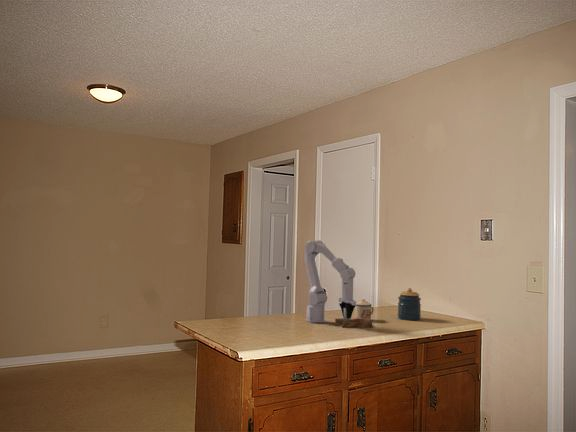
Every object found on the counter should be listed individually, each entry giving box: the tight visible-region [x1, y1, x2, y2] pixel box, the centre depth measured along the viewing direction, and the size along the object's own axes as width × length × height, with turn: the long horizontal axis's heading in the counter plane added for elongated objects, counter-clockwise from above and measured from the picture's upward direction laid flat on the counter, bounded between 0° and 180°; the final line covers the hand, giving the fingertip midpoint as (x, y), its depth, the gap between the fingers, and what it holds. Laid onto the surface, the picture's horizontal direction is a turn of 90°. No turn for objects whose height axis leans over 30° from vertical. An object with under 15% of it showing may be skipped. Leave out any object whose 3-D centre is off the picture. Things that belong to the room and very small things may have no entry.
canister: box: [397, 287, 422, 321], centre depth 282 cm, size 13×13×18 cm
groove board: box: [334, 317, 373, 329], centre depth 256 cm, size 16×12×2 cm
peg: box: [343, 308, 350, 322], centre depth 253 cm, size 3×3×7 cm
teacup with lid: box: [354, 298, 375, 321], centre depth 274 cm, size 12×9×12 cm
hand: (347, 317), depth 253 cm, fingers closed on peg, 3 cm apart
